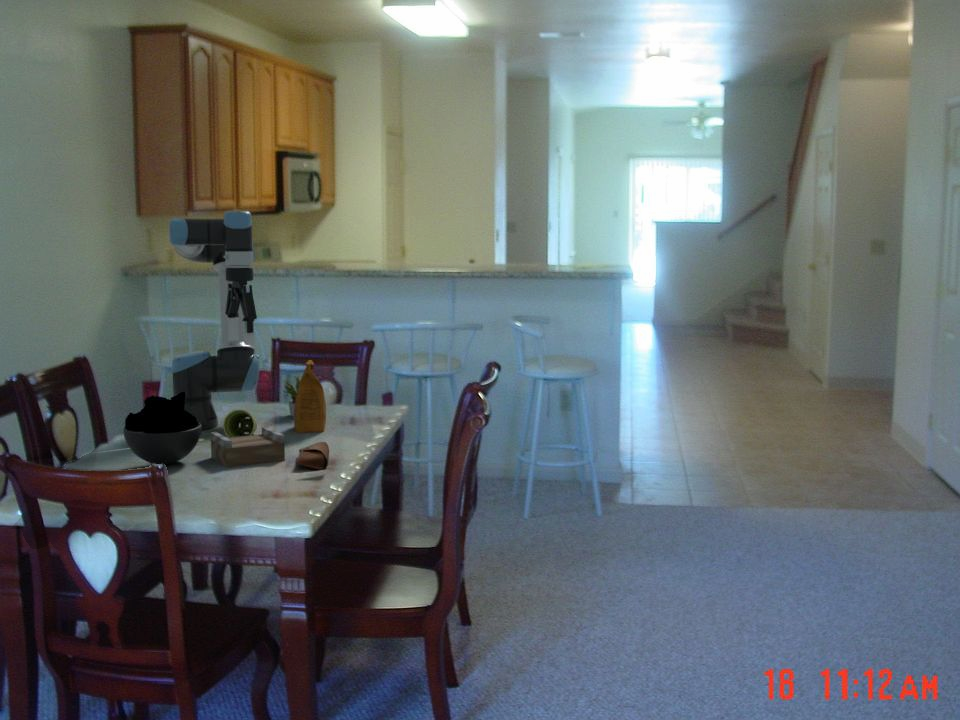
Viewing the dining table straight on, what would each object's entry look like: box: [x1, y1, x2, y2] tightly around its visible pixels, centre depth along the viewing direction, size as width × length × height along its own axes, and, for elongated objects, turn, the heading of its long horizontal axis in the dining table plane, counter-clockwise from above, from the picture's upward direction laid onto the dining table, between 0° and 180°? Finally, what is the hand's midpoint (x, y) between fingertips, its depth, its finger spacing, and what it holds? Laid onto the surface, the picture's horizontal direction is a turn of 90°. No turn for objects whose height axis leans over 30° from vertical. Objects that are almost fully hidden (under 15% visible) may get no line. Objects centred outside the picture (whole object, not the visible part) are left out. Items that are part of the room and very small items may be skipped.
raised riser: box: [210, 426, 286, 468], centre depth 277 cm, size 14×16×7 cm
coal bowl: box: [122, 392, 202, 465], centre depth 270 cm, size 20×20×19 cm
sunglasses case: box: [295, 441, 330, 470], centre depth 272 cm, size 18×7×7 cm
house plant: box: [281, 372, 320, 418], centre depth 334 cm, size 14×14×16 cm
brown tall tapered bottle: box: [293, 359, 327, 434], centre depth 315 cm, size 10×12×22 cm
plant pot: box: [222, 409, 258, 438], centre depth 305 cm, size 9×9×9 cm
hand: (241, 342), depth 285 cm, fingers open, 13 cm apart
